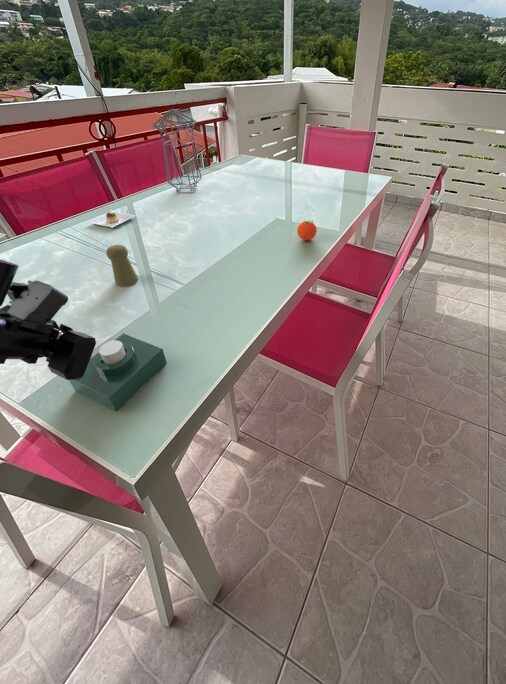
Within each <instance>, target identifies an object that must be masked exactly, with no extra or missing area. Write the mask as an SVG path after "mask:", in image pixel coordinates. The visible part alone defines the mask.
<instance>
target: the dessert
mask: <svg viewBox="0 0 506 684" xmlns="http://www.w3.org/2000/svg"><path fill="white" fill-rule="evenodd" d="M135 217H136V215H135V214H129V213H125V212H124V213H123V212H118V211H114V210H111V209H110V210H109V211H107V212H106V213H105V214H103V215H101V216H99V217H96V218H94V219H92V220H90V221H87V223H88V224H92V225H97V226H102V227H107V228H111V229H114V228H116V227H118V226H121V225H122V224H124V223H126V222H128V221H130V220H132V219H133V218H135Z"/></svg>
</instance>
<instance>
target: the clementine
mask: <svg viewBox="0 0 506 684" xmlns="http://www.w3.org/2000/svg"><path fill="white" fill-rule="evenodd" d="M317 230H318V229H317V226H316V224H315V223H314V221H313V220H311V219H307V220H303V221H301V222H300V223H299V224H298V226H297V230H296V233H297V235H298V237H299V238H300V239H301V240H303V241H312V240H313V239H314V238H315V237H316V235H317V232H318V231H317Z"/></svg>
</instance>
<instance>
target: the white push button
mask: <svg viewBox="0 0 506 684" xmlns="http://www.w3.org/2000/svg"><path fill="white" fill-rule="evenodd" d="M98 352H99V353H100V356H101V358H102V360H103V362H104V363H105V364H107V365H112V364H115V363H118V362H120V361H121V360H123V359H124V358H125V356H126V352H125V350H124V347H123V345H122V343H121V342H120V341H117V340H115V339H114V340H110V341H107V342H104V344H102V345H100V347H99V349H98Z"/></svg>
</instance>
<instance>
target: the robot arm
mask: <svg viewBox="0 0 506 684" xmlns="http://www.w3.org/2000/svg"><path fill="white" fill-rule="evenodd" d="M19 267H20V266H19V265H18V264H17V263H13V262H10V261H8V260H7V261H6V260H4V259H0V307H1V308H0V365H4V364H5V363H6V360H20V361H22V362H25V363H26V364H29V365H36V364H37V362H38V360H39V359H41V358H46V360H45V362H47V363H48V364H47V368H48V370H49V371H50V373H52V374H55V375H57V376H58V377H60V378H62V379H64V380H66V381H69V380H75V379H80V378H82V377H83V376H84V373H85V371H86V368H87V366H88V363H89V360H90V358H92V355H93V352H94V350H95V347H96V345H97V340H96V337H93V336H91V335H89V334H86V333H84V332H80V331H76V330H74V329H73V328H72V327H70V326H68V325H65V324H63V323H60V324H59V325H58V322H57V321H56V320H55V319H54V320H53V318H54V317H55V316H56V315H57V313H58V312H59V311H60V309H62V308H63V306H65V305H66V304H67V303H68V301H69V296H68V295H66V294H65V293H63V292H62V291H60V290H59V289H57V288H55V287H54V286H53V285H51V284H48V283H46V282H43V281H41V280H33V281H32V280H30V279H29V280H28V281H27V283H25V282H14V279H15V276H16V274H17V272H18V269H19ZM6 297H8V298H9V300H10V301H9V302H8V303H9V304H6V305H5V306H4V305H3V304H4V302H5V300H6Z"/></svg>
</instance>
